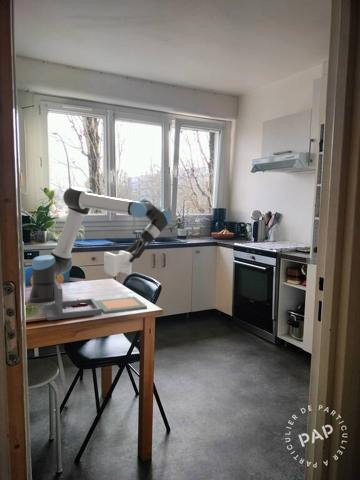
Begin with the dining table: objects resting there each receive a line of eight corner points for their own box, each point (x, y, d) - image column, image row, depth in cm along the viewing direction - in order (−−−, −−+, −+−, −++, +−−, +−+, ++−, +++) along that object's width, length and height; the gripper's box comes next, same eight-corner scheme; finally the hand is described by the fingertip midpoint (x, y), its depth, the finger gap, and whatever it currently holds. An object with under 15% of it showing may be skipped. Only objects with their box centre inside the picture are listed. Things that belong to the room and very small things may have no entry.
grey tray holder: (43, 307, 173) (43, 280, 172) (92, 302, 184) (92, 277, 183) (47, 320, 155) (47, 290, 154) (101, 313, 166) (101, 285, 164)
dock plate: (95, 302, 184) (95, 300, 184) (134, 298, 194) (134, 296, 194) (104, 313, 167) (104, 311, 167) (146, 308, 176) (146, 306, 176)
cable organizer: (132, 276, 174) (132, 253, 173) (113, 278, 169) (112, 255, 168) (121, 271, 187) (121, 249, 186) (102, 273, 182) (102, 251, 180)
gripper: (162, 241, 174) (133, 273, 169) (146, 236, 195) (120, 265, 190) (153, 230, 171) (123, 263, 166) (137, 227, 192) (110, 256, 187)
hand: (121, 264), depth 178 cm, fingers closed on cable organizer, 11 cm apart
